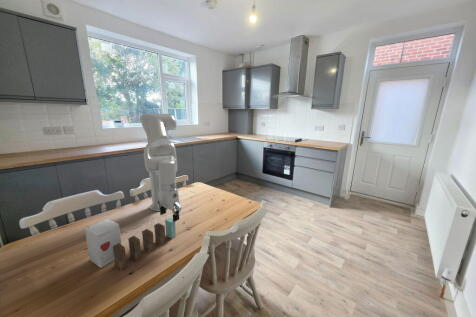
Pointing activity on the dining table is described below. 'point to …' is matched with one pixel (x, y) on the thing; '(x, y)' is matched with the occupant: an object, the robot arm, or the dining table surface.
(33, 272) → the dining table surface
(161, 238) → the domino
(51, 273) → the dining table surface
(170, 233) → the domino
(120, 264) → the domino
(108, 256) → the supplement box
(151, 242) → the domino
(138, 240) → the domino
